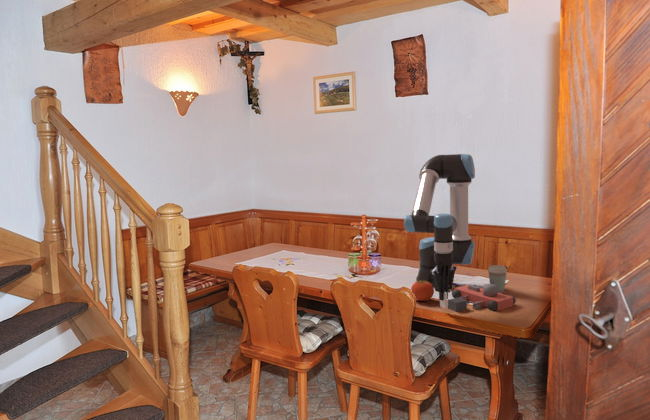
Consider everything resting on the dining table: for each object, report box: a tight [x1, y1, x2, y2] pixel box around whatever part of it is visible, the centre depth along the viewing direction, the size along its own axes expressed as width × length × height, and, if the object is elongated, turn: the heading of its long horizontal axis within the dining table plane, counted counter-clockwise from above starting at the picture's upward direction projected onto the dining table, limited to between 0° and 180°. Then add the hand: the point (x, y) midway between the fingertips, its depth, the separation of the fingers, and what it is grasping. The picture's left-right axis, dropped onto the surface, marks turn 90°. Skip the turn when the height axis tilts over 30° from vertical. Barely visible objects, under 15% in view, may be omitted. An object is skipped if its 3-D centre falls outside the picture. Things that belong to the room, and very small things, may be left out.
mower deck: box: [451, 283, 517, 312], centre depth 210 cm, size 24×13×8 cm, turn 32°
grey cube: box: [447, 298, 468, 312], centre depth 202 cm, size 5×6×4 cm
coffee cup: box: [487, 264, 508, 294], centre depth 223 cm, size 8×8×12 cm
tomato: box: [410, 279, 435, 302], centre depth 214 cm, size 10×10×10 cm
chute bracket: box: [458, 295, 484, 310], centre depth 207 cm, size 10×6×2 cm, turn 32°
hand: (443, 307), depth 198 cm, fingers closed
